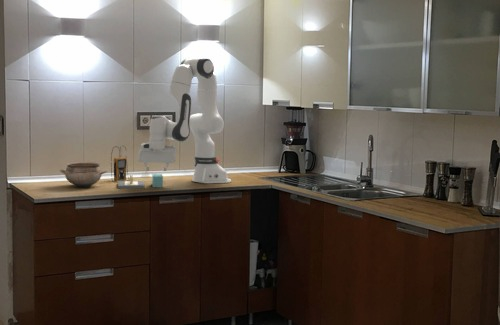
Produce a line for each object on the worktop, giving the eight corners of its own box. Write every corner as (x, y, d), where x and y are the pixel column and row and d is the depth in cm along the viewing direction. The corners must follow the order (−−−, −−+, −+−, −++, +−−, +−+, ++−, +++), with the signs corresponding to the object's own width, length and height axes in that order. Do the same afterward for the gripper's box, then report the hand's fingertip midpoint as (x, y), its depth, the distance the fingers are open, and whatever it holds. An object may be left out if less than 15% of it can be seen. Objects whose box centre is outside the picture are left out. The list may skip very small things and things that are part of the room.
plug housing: (161, 184, 377) (161, 173, 376) (162, 187, 366) (162, 176, 365) (152, 184, 376) (152, 173, 375) (152, 187, 365) (153, 176, 364)
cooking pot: (110, 184, 372) (110, 162, 370) (103, 189, 353) (103, 166, 351) (64, 183, 371) (64, 161, 370) (55, 188, 353) (54, 165, 351)
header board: (143, 183, 378) (144, 173, 378) (144, 188, 361) (144, 178, 360) (118, 183, 376) (118, 173, 375) (118, 188, 358) (118, 178, 357)
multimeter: (120, 183, 376) (120, 147, 374) (108, 181, 382) (108, 146, 380) (140, 181, 388) (140, 146, 386) (128, 179, 394) (128, 144, 392)
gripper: (175, 145, 373) (175, 170, 374) (138, 144, 369) (137, 169, 370) (176, 146, 367) (175, 171, 368) (138, 145, 363) (137, 170, 364)
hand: (156, 170), depth 369 cm, fingers open, 8 cm apart
